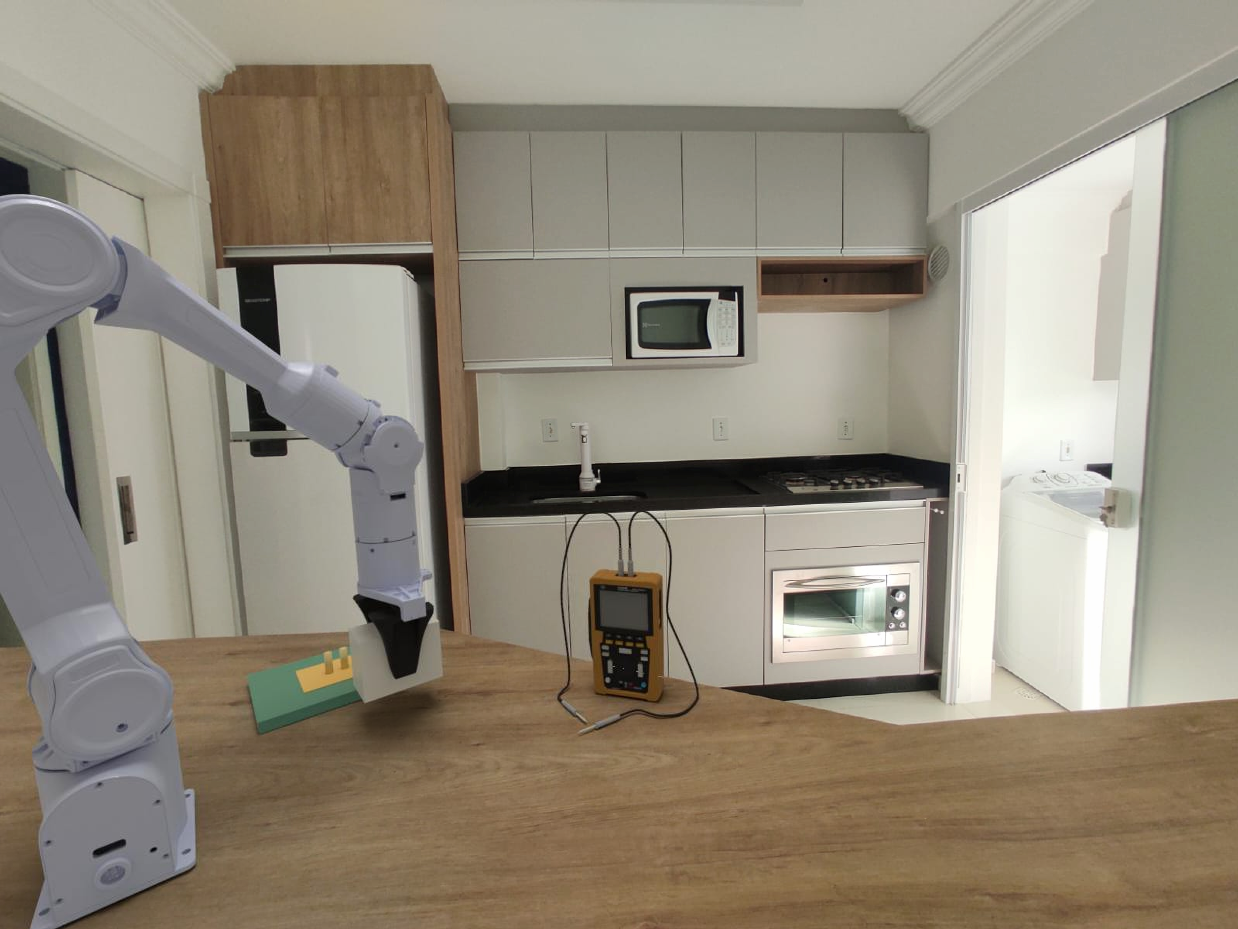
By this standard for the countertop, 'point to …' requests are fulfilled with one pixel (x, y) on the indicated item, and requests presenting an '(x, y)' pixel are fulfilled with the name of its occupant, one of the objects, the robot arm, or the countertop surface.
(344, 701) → the header board
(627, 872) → the countertop surface
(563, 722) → the countertop surface
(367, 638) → the block
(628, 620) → the multimeter
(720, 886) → the countertop surface
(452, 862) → the countertop surface
